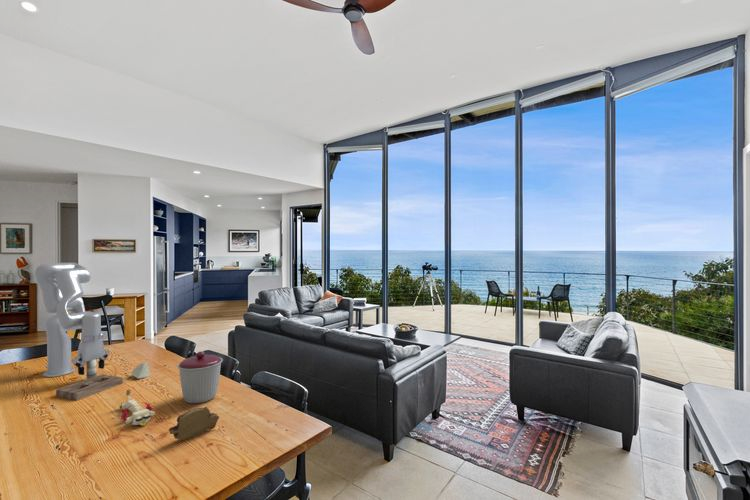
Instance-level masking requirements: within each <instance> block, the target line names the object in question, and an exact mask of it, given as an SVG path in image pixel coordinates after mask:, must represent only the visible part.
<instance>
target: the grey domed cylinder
mask: <svg viewBox="0 0 750 500" xmlns="http://www.w3.org/2000/svg"><path fill="white" fill-rule="evenodd" d="M97 361H98V359H94V360H91V361H88V362H86V363H85V364H86V365H85V367H86V371H85V372H86V379H85V380H87V379H90V378H93V377H96V376H98V374H97V372H98V371H97V365H98V363H97Z"/></svg>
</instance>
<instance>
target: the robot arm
mask: <svg viewBox="0 0 750 500" xmlns="http://www.w3.org/2000/svg"><path fill="white" fill-rule="evenodd" d="M34 277H35V278H34V279H35V280H36V282H37V284H38V287H40V289H41V294H42V299H43V303H44V309H45V311H46V312H47V313H50V314H56V315H52V316H49V317H47V318H46V320H45V321H44V330H45V334H46V347H47V348H46V352H47V353H46V355H47V356H46V358H47V359H46V360H47V361H46V362H47V365H46V366H45V367H44V368H45V369H47V370H46V371H45V372H44V373H42V374H43V375H42V376H43V377H45V378H54V377H60V376H65V375H69V374H71V373H73V372H75V371H76V368H75V367H77V374H78V375H81V376H84V375H85V364H86V362H88V361H91V360H94V359H97V361H98V363H97V365H98V369H102V370H103V369H105V361H106V360H107V358H108V357H109V354H110V352H111V351H110V350H109V349H105V346H104V341H103V338H102V336H104V333H103V332H102V328H101V327H102V325H101V324H102V323H101V322H102V319H101V318H102V316H101V313H99V312H93V311H86V307H85V304H84V300H83V295H84V290H83V287H82V285H81V284H86V283H88V282H90V280H91V278H92V277H91V272H90V270H89V269H88V268H87V267H85V266H83V265H81V264H79V263H77V262H47V263H42V264H40V265H38V266H37V267H35V271H34ZM80 329H81V341H80V342H79V344H78V348H77V349H78V350H77V356H75V357H74V358H73V359H72V339H71V337H70V335H69V334H67V333H66V332H69V331H75V330H80ZM98 359H99V360H98ZM72 364H73V365H74V366H75V367H74V366H72Z"/></svg>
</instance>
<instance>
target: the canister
mask: <svg viewBox="0 0 750 500" xmlns="http://www.w3.org/2000/svg"><path fill="white" fill-rule="evenodd" d="M223 361H224V359H223V358H222V357H221V356H218V355H215V354H206V353H205V352H204V351H198V352H197V353H196V354H195V355H193V356H191V357H187V358H185V359H183V360H182V361H179V363H178V364H177V366H176V367H177V368H178V370H179V378H180V385H181V392H182V397H183V400H184V401H185V402H186V403H189V404H202V403H205V402H208V401H211V400H212V399H214V398H215V397H216V395H217V393H218V389H219V383H220V375H221V365H222V362H223Z"/></svg>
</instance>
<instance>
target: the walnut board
mask: <svg viewBox="0 0 750 500" xmlns="http://www.w3.org/2000/svg"><path fill="white" fill-rule="evenodd" d="M122 384H123V377H121V376H116V375H115V376H114V375H111V374H110V375H109V374H99V375H97V376H96V377H93V378H90V379H87V380H86V379H84V380H82V381H78V382H75V383H72V384H70V385H66V386H63V387H60V388H57V389H55V396H56V397H58V398H64V399H68V400H71V401H72V400H73V401H79V400H82V399H84V398H85V399H86V398H87V397H90V396H92V395H95V394H98V393H101V392H104V391H106V390H110V389H112V388H113V387H114V388H115V387H117V386H119V385H122Z"/></svg>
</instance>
